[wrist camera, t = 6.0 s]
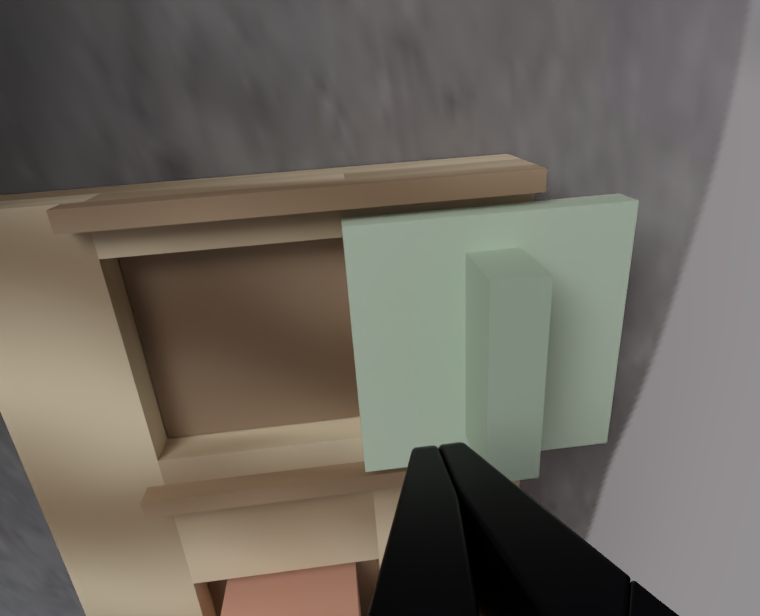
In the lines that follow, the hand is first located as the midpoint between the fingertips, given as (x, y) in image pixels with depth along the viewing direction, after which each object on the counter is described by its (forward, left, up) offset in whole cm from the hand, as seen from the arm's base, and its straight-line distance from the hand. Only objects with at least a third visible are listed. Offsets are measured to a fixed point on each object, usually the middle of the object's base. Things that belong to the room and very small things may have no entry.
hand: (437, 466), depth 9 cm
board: (-5, +3, -7) cm, 9 cm away
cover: (0, -2, -5) cm, 5 cm away
